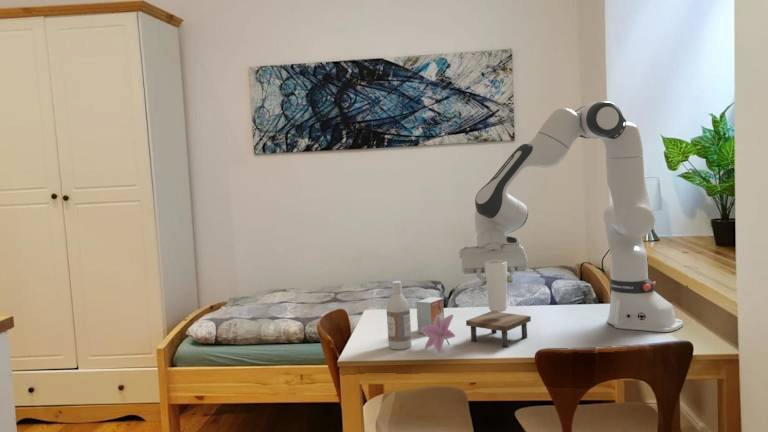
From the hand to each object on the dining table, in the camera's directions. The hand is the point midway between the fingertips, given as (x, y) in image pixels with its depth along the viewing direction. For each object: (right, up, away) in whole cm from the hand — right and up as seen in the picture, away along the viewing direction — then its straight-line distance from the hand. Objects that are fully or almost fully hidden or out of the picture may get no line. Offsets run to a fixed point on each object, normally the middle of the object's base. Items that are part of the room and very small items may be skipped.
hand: (496, 282), depth 202 cm
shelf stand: (+1, -18, +2) cm, 18 cm away
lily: (-18, -19, -3) cm, 26 cm away
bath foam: (-29, -20, 0) cm, 35 cm away
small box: (-19, -18, +16) cm, 30 cm away
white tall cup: (+1, -9, +2) cm, 9 cm away
